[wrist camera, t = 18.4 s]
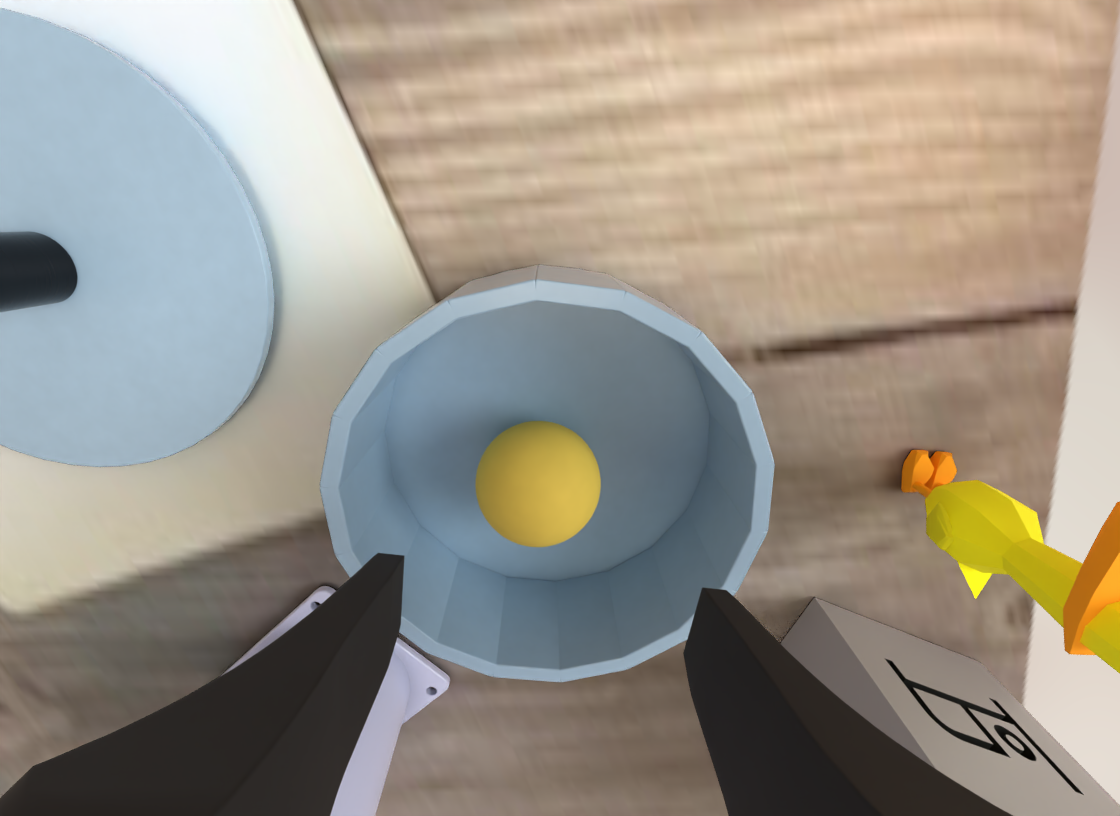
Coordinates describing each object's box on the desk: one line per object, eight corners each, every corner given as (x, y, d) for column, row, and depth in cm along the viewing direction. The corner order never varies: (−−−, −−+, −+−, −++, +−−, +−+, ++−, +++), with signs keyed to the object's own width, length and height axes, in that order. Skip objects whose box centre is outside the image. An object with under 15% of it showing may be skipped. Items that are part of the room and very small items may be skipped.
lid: (136, 521, 23) (37, 594, 18) (-243, 253, 19) (-486, 264, 14) (367, 276, 19) (314, 293, 15) (-32, -111, 16) (-263, -243, 11)
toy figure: (906, 391, 21) (1304, 581, 10) (990, 394, 22) (1474, 586, 10) (865, 532, 24) (1153, 817, 12) (941, 535, 24) (1295, 818, 13)
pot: (543, 634, 25) (543, 741, 20) (302, 433, 22) (224, 501, 16) (787, 449, 22) (860, 519, 17) (556, 177, 18) (559, 161, 13)
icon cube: (979, 662, 26) (1218, 906, 17) (863, 789, 29) (1011, 1057, 20) (814, 597, 25) (977, 827, 15) (709, 738, 28) (791, 1003, 18)
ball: (547, 506, 23) (526, 592, 19) (470, 438, 22) (431, 515, 18) (628, 455, 21) (624, 539, 17) (549, 376, 20) (525, 447, 16)
